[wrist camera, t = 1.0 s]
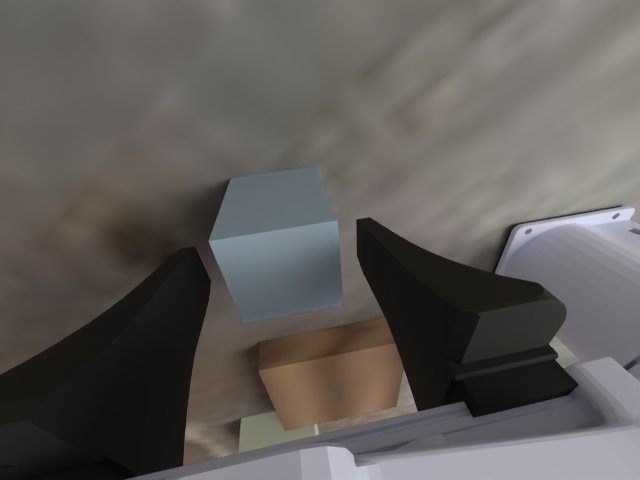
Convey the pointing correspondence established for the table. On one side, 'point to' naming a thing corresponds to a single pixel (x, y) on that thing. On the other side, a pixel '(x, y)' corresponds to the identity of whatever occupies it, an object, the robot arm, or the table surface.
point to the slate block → (278, 245)
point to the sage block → (269, 432)
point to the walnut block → (331, 373)
